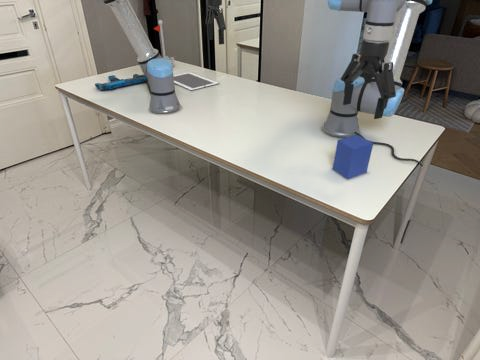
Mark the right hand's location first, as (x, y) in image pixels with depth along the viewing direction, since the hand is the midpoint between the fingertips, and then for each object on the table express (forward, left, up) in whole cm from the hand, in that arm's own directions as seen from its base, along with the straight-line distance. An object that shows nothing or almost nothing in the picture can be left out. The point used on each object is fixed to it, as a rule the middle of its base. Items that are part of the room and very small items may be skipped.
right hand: (361, 110), depth 109 cm
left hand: (+101, +10, +4) cm, 101 cm away
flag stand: (+168, +22, -23) cm, 171 cm away
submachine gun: (+142, +56, -23) cm, 154 cm away
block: (0, 0, -23) cm, 23 cm away
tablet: (+127, +18, -23) cm, 130 cm away
